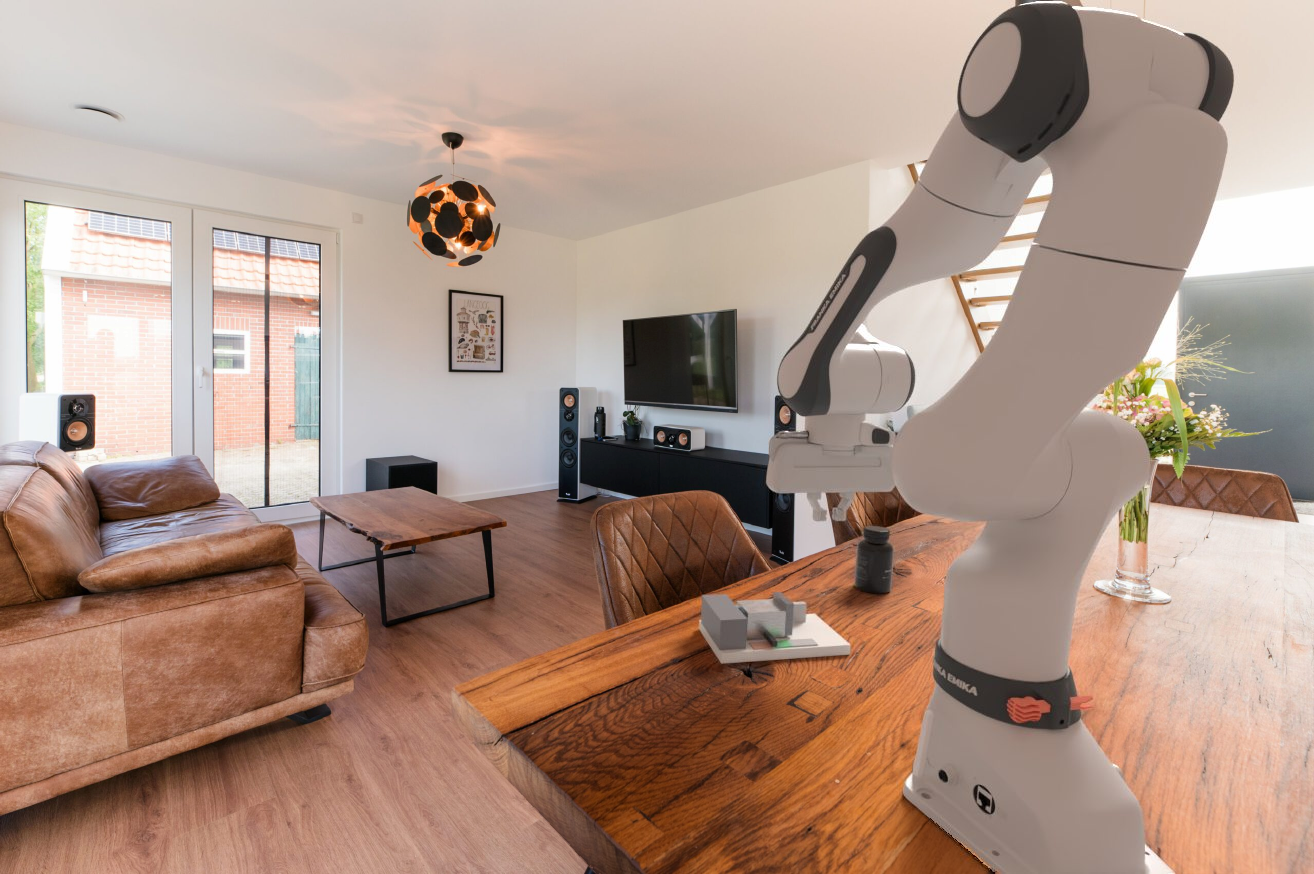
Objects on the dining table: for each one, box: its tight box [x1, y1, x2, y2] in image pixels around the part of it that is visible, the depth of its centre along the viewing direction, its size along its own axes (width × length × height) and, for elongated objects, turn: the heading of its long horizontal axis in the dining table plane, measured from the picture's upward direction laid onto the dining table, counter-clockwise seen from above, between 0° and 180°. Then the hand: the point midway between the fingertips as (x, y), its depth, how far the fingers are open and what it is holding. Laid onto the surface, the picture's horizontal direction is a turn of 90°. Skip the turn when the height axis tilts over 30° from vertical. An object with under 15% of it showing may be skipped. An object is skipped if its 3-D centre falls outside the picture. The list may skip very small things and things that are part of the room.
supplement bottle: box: [854, 525, 895, 595], centre depth 121 cm, size 7×7×12 cm
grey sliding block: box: [736, 591, 794, 647], centre depth 94 cm, size 8×7×5 cm
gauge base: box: [698, 593, 852, 664], centre depth 96 cm, size 12×20×6 cm, turn 102°
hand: (829, 520), depth 96 cm, fingers closed
